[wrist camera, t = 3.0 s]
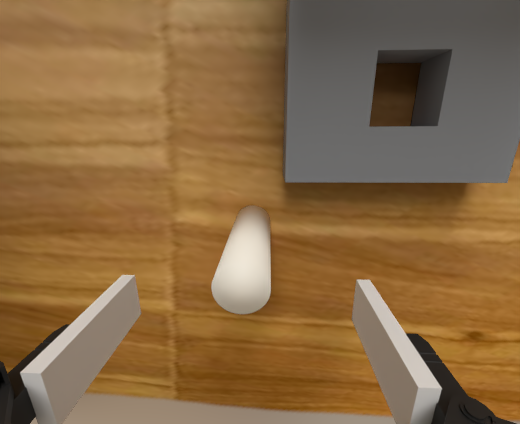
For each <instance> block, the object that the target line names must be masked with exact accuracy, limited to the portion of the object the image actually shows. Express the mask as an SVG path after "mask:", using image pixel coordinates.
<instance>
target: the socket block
mask: <svg viewBox="0 0 520 424" xmlns="http://www.w3.org/2000/svg"><path fill="white" fill-rule="evenodd" d="M377 63H421V67H420V73H419V79H418V85H417V91H416V97H415V103H414V109H413V116H412V122H411V126H396V127H369V124H370V116H371V107H372V99H373V90H374V82H375V73H376V65H377ZM519 140H520V0H287V11H286V55H285V100H284V145H283V177H284V180H285V182H351V183H507V181H508V178H509V174H510V171H511V167H512V164H513V161H514V157H515V154H516V150H517V147H518V143H519Z"/></svg>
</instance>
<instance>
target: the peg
mask: <svg viewBox="0 0 520 424" xmlns="http://www.w3.org/2000/svg"><path fill="white" fill-rule="evenodd" d="M270 293H271V255H270V217H269V215H268V213H267V212H266V211H265V210H264V209H263V208H261V207H259V206H254V205H251V206H247V207H244V208H243V209H241V210H240V211H239V213H238V215H237V217H236V220H235V222H234V225H233V228H232V230H231V233H230V236H229V238H228V241H227V244H226V246H225V249H224V252H223V254H222V257H221V260H220V262H219V265H218V268H217V270H216V273H215V276H214V278H213V281H212V294H213V296H214V299H215V300H216V302H217V303H218V304H219V305H220V306H221V307H222V308H224V309H225V310H227V311H229V312H232V313H236V314H249V313H253V312H255V311H257V310H259V309H261V308H262V307H263V306H264V305H265V304H266V303H267V301H268V299H269V297H270Z"/></svg>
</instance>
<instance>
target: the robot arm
mask: <svg viewBox="0 0 520 424" xmlns="http://www.w3.org/2000/svg"><path fill="white" fill-rule="evenodd" d="M140 315H141V310H140V304H139V298H138V292H137V286H136V280H135V275H122V276H121V277H120V278H119V279H118V280H117V281H116V282H114V283H113V284H112V285H111V286H110V287H109V288H108V289H107V290H106V291H105V292H104V293H103V294H102V295H101V296H100V297H99V298H98V299H97V300H96V301H95V302H94V303H92V304H91V305H90V306H89V307H88V308H87V309H86V310H85V311H84V312H83V313H82V314H81V315H80V316H79V317H78V318H77V319H76V320H75V321H74V322H73V323H72V324H70V325H64V326H62V327H61V328H59V329H58V330H56V331H54V332H53V333H52V334H51V335H50V336H48V337H47V338H46V339H45V340H44V341H43V343H41V344H40V345H39V346H37V347H36V348H35V350H33V351H32V352H31V353H30V354H29V355H28V356H27V357H25V358H24V359H23V360H22V361H21V362H20V363H19V364H18V365H17V366H16V367H15V368H13V369H12V370H11V371H10V372H9V373H8V374H7V371H6V369H5V366H4V363H3V362H1V361H0V424H30V423H31V421H32V420H33V419H34V418H35V417H36V419H37V422H38V424H62V423H63V421H64V420H65V419H66V417H67V416H68V415H69V413H70V412H71V411H72V409H73V408H74V406H75V405H76V404H77V402H78V401H79V399H80V398H81V396H82V395H83V394H84V392H85V391H86V390H87V388H88V387H89V386H90V384H91V383H92V381H93V380H94V379H95V377H96V376H97V374H98V373H99V372H100V370H101V369H102V367H103V366H104V365H105V363H106V362H107V361H108V359H109V358H110V356H111V355H112V354H113V352H114V351H115V349H116V348H117V347H118V345H119V344H120V342H121V341H122V340H123V338H124V337H125V336H126V334H127V333H128V331H129V330H130V329H131V327H132V326H133V324H134V323H135V322H136V320H137V319H138V317H139V316H140ZM352 321H353V324H354V326H355V328H356V331H357V333H358V335H359V338H360V340H361V342H362V345H363V347H364V349H365V352H366V354H367V356H368V359H369V361H370V363H371V366H372V368H373V371H374V373H375V375H376V378H377V380H378V382H379V385H380V387H381V389H382V392H383V394H384V396H385V399H386V401H387V403H388V406H389V408H390V410H391V413H392V415H393V417H394V420H395V422H396V424H516V423H513V422H510V421H506V420H503V419H501V418H498V417H496V416H495V415H494V414H493V412H492V411H490V410H489V409H488V408H487V407H486V406H485V405H484V404H482V403H481V402H479V401H477V400H476V399H473V398H471V397H469V396H468V395H467V394H466V393H465V391H464V390H463V389H462V387H461V386H460V385H459V383H458V382H457V381H456V379H455V378H454V377H453V375H452V374H451V373H450V371H449V370H448V368H447V367H446V366H445V364H444V363H442V360H441V359H440V358H439V356H438V355H436V352H435V351H434V350H433V348H432V347H431V346H430V344H429V343H428V342H427V341H426V340H424V339H423V338H422V337H421V336H419V335H418V334H406V333H405V332H404V331H403V329H402V328H401V326H400V325H399V323H398V322H397V320H396V319H395V317H394V316H393V314H392V312H391V311H390V309H389V308H388V306H387V305H386V303H385V302H384V300H383V299H382V297H381V296H380V294H379V293H378V291H377V290H376V288H375V287H374V285H373V284H372V282H371V281H370V280H356V287H355V296H354V304H353V312H352Z"/></svg>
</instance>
